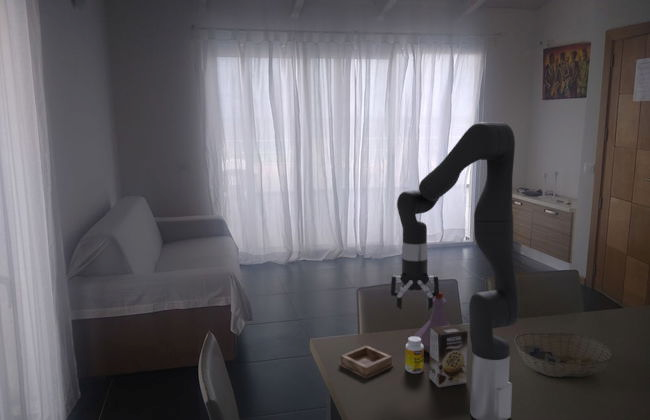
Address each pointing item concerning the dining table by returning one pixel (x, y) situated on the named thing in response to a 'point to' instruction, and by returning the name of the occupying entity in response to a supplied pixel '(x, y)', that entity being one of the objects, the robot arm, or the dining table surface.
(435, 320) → the flask
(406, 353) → the supplement bottle
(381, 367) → the walnut collar stand
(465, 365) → the coffee box
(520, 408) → the dining table surface
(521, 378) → the dining table surface
